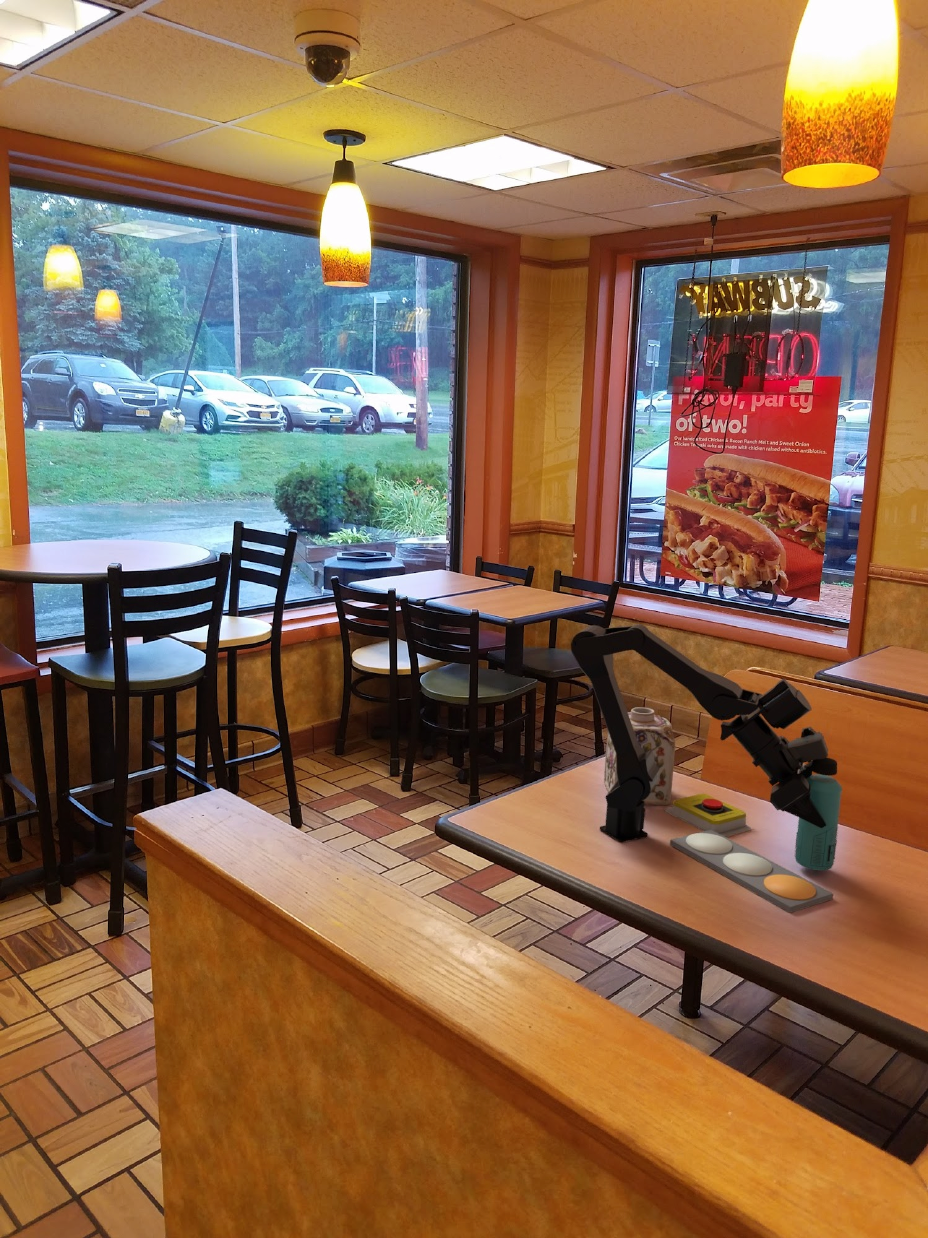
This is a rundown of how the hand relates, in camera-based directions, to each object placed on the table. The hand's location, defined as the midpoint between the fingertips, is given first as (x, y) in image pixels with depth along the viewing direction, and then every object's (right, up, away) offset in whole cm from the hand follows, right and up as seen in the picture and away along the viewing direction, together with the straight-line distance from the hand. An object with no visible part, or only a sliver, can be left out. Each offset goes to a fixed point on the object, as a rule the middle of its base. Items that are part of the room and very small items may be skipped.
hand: (824, 816), depth 158 cm
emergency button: (-14, -6, +22) cm, 27 cm away
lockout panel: (-13, -9, +1) cm, 16 cm away
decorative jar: (-26, -3, +34) cm, 42 cm away
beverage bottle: (-1, -10, +2) cm, 10 cm away
